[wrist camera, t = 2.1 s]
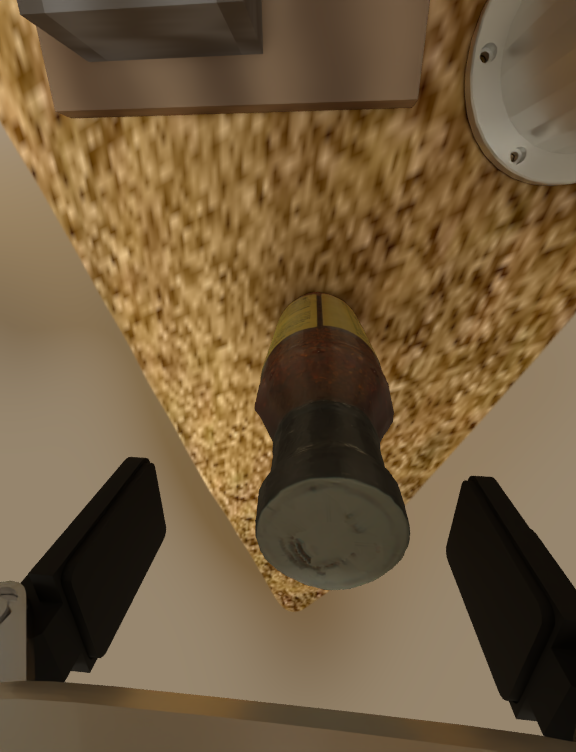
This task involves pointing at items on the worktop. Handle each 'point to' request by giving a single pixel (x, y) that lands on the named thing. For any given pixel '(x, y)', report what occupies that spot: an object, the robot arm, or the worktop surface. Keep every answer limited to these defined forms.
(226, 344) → the worktop surface
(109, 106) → the bottle caddy
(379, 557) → the sauce bottle
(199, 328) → the worktop surface
